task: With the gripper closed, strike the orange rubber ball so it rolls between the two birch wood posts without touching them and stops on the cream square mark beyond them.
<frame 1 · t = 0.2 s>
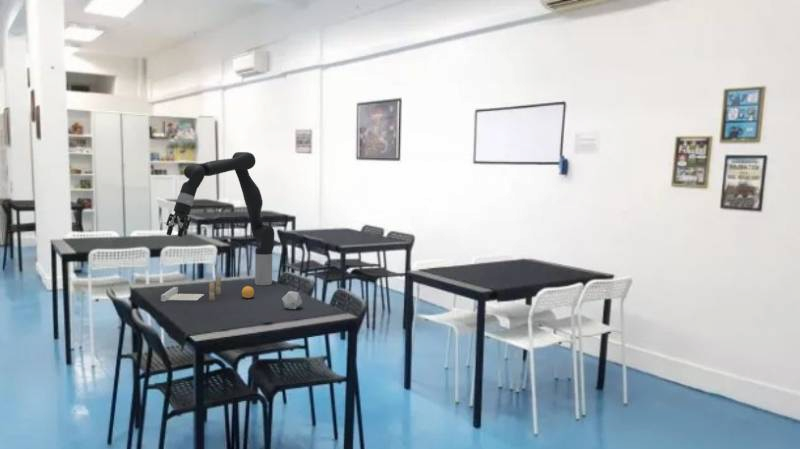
hand: (173, 235, 288), 31 cm above the table, tool tilted 20°, fingers open, 8 cm apart
die: (291, 308, 280), on the table
post 2: (218, 294, 305), on the table
ball: (247, 292, 299), on the table
stopper wall: (169, 296, 297), on the table
post 1: (211, 300, 292), on the table
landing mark: (186, 297, 297), on the table
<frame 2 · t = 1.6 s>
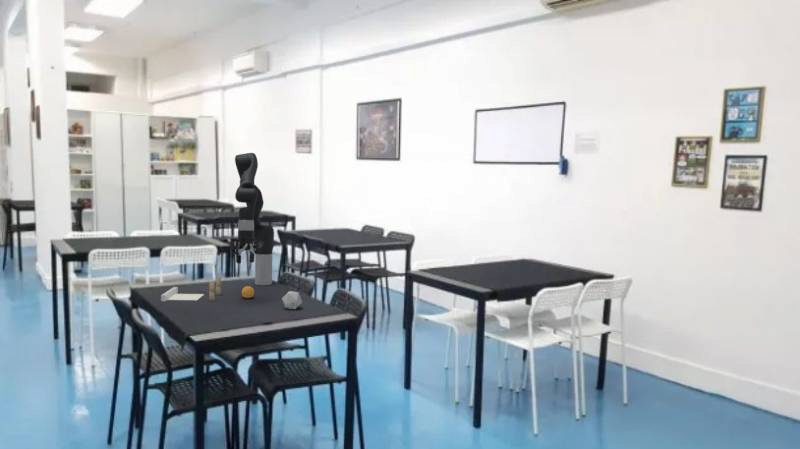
hand: (245, 262, 291), 19 cm above the table, tool pointing down, fingers open, 8 cm apart
nothing on the table moved.
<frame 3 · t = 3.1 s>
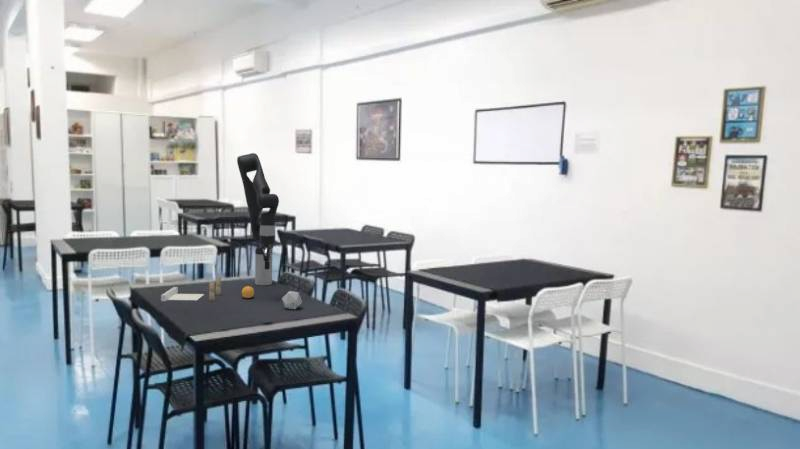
hand: (267, 269, 298), 15 cm above the table, tool pointing down, fingers closed
nothing on the table moved.
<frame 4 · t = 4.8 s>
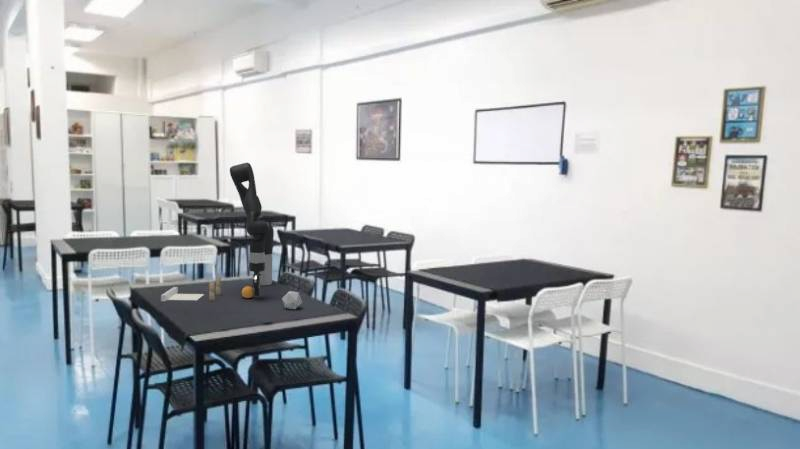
hand: (256, 295, 299), 1 cm above the table, tool pointing down, fingers closed
nothing on the table moved.
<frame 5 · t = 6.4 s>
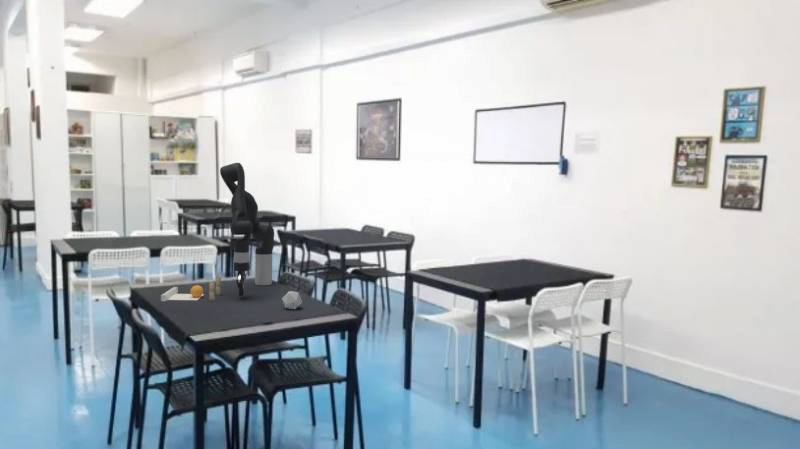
hand: (241, 295, 298), 1 cm above the table, tool pointing down, fingers closed
ball: (196, 291, 297), on the table
everything else where it was.
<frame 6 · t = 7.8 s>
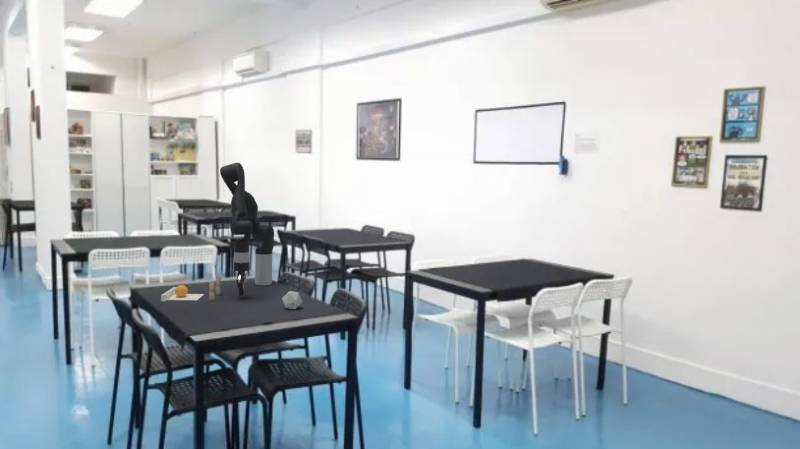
hand: (241, 295, 298), 1 cm above the table, tool pointing down, fingers closed
ball: (181, 291, 297), on the table
everything else where it was.
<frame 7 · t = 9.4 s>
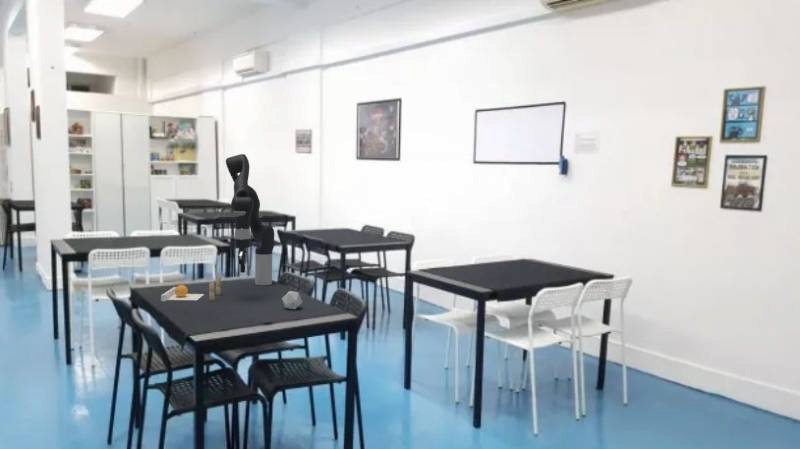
hand: (242, 272, 297), 13 cm above the table, tool pointing down, fingers closed
nothing on the table moved.
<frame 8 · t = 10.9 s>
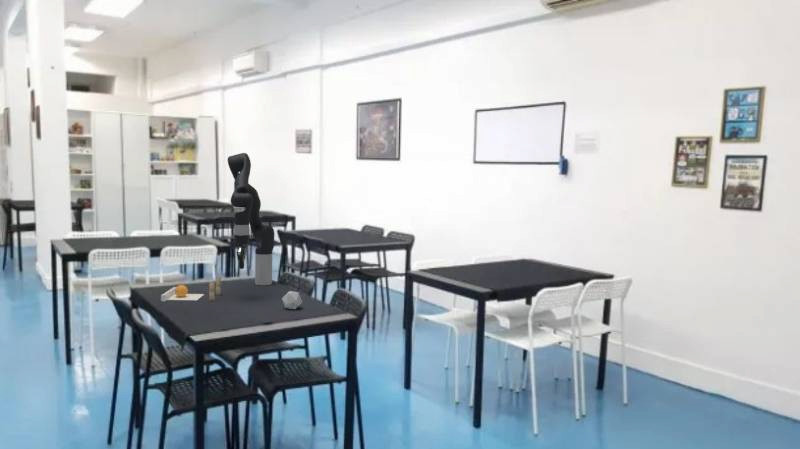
hand: (241, 268, 297), 15 cm above the table, tool pointing down, fingers closed
nothing on the table moved.
at the end: ball 2.4 cm from the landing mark (horizontally); ball never touched post 1; ball never touched post 2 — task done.
